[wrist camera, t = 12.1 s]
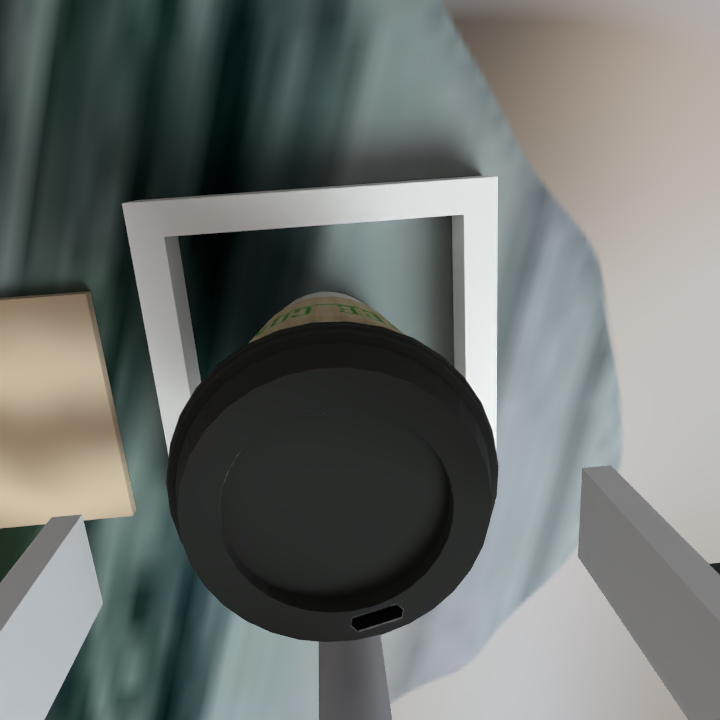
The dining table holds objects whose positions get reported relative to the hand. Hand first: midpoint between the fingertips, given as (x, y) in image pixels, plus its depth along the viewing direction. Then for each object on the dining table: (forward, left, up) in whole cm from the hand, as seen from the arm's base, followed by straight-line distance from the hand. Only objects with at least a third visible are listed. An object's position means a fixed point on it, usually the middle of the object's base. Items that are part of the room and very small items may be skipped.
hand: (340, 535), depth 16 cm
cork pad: (+2, -17, -15) cm, 23 cm away
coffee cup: (0, 0, -16) cm, 16 cm away
